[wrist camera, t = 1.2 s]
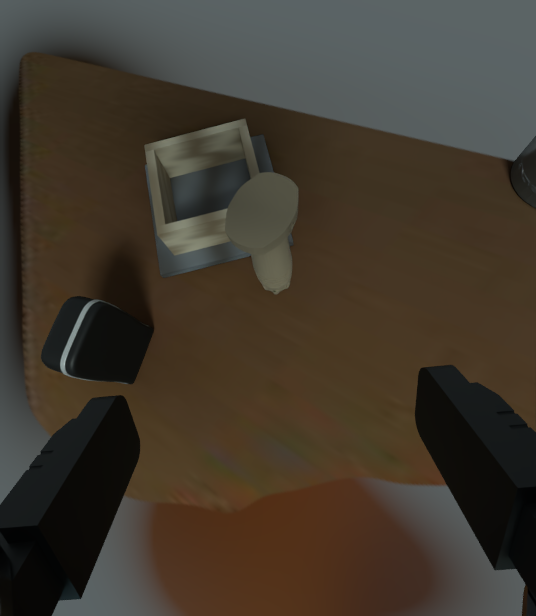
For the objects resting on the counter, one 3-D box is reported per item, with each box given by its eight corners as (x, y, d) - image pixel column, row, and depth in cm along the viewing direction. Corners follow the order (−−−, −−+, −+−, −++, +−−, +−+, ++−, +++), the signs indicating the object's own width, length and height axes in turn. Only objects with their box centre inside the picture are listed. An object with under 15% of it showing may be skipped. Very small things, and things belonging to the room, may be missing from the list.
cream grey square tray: (263, 139, 45) (258, 100, 39) (293, 245, 40) (291, 218, 35) (148, 170, 46) (125, 136, 40) (163, 277, 41) (141, 256, 35)
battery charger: (127, 319, 40) (61, 285, 29) (156, 327, 39) (100, 296, 28) (103, 377, 38) (23, 365, 27) (134, 387, 37) (64, 378, 26)
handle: (245, 296, 39) (211, 231, 25) (271, 250, 40) (254, 164, 26) (282, 314, 38) (270, 258, 24) (307, 267, 39) (311, 186, 25)
